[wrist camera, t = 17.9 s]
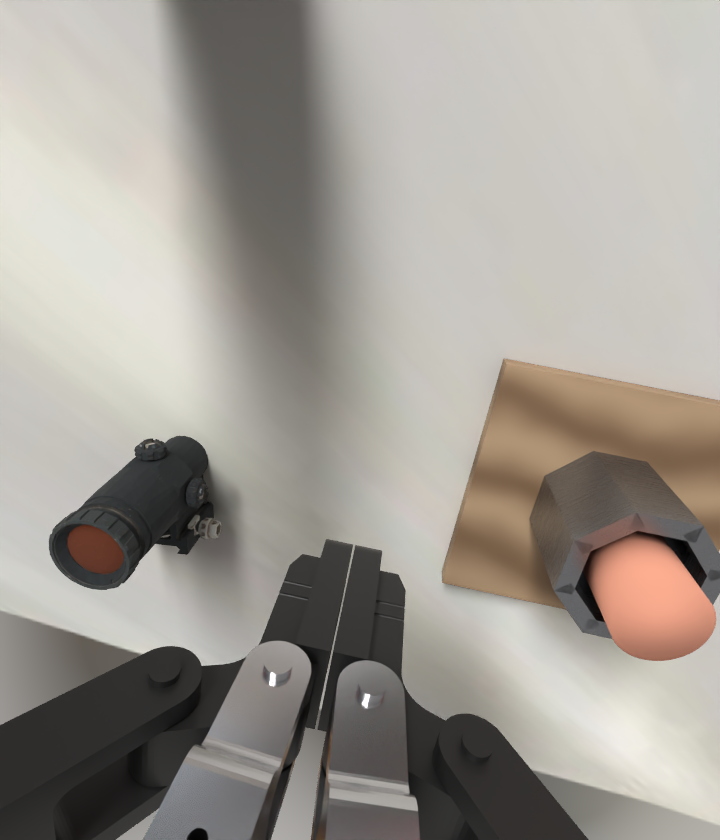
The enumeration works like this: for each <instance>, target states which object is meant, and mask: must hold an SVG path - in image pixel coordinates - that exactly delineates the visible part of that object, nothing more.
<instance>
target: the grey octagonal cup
mask: <svg viewBox="0 0 720 840" xmlns="http://www.w3.org/2000/svg"><path fill="white" fill-rule="evenodd" d="M529 519H530V522H531V525H532V528H533V531H534V534H535V537H536V540H537V543H538V546H539V549H540V552H541V555H542V558H543V561H544V564H545V567H546V569H547V572H548V575H549V578H550V581H551V584H552V587H553V590H554V592H555V593H556V595H557V596H558V598H559V599H560V600H561V602H562V603H563V605H564V606H565V608H566V609H567V611H568V612H569V614H570V615H571V616H572V618H573V619H574V621H575V622H576V624H577V625H578V627H579V628H580V629H581V631H582V632H583V633H588V634H593V635H597V636H602V637H606V638H611V639H613V638H612V636H611V634H610V632H609V629H608V627H607V625H606V623H605V620H604V618H603V616H602V613H601V611H600V609H599V607H598V604H597V602H596V600H595V598H594V595H593V593H592V591H591V588H590V586H589V584H588V582H587V579H586V577H585V575H584V572H583V568H584V566H585V564H586V561H587V559H588V556H589V554H590V552H591V551H593V550H595V549H597V548H600V547H602V546H604V545H606V544H609V543H611V542H613V541H615V540H618V539H620V538H622V537H624V536H627V535H629V534H631V533H633V532H636V531H641V532H646V533H651V534H656V535H661V536H663V537H664V539H665V540H666V542H667V543H668V544H669V546H670V547H671V548H672V550H673V551H674V553H675V554H676V555H677V557H678V558H679V559H680V561H681V562H682V564H683V565H684V566H685V568H686V569H687V570H688V572H689V573H690V574H691V576H692V577H693V579H694V580H695V581H696V583H697V584H698V585H699V587H700V588H701V590H702V591H703V592H704V594H705V595H706V596H707V598H708V599H709V601H710V602H711V603H712V605H713V604H714V602H715V600H716V599H717V597H718V595H719V593H720V554H719V552H718V550H717V548H716V547H715V545H714V543H713V541H712V539H711V538H710V536H709V534H708V532H707V531H706V529H705V527H704V525H703V524H702V523H701V522H700V521H699V520H698V519H697V518H696V516H695V515H694V514H693V513H692V512H691V511H690V510H689V508H688V507H687V506H686V505H685V504H684V503H683V502H682V501H681V499H680V498H679V497H678V496H677V495H676V494H675V493H674V492H673V490H672V489H671V488H670V487H669V486H668V485H667V484H666V483H665V481H664V480H663V479H662V478H661V477H660V476H659V475H658V473H657V472H656V471H655V470H654V469H653V468H652V467H651V466H650V464H649V463H648V462H646V461H641V460H636V459H631V458H626V457H622V456H617V455H612V454H607V453H602V452H597V451H592V452H590V453H588V454H586V455H584V456H582V457H580V458H578V459H576V460H574V461H572V462H570V463H568V464H567V465H565V466H563V467H561V468H559V469H557V470H555V471H553V472H551V473H549V474H547V475H545V476H544V479H543V481H542V484H541V487H540V490H539V493H538V495H537V498H536V501H535V504H534V507H533V509H532V512H531V515H530V518H529Z"/></svg>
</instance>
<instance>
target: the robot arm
mask: <svg viewBox="0 0 720 840" xmlns="http://www.w3.org/2000/svg"><path fill="white" fill-rule="evenodd" d="M352 547H353V545H352V544H347V543H343V542H338V541H333V540H329V539H326V542H325V545H324V548H323V552H322V555H321V558H318V557H313V556H309V555H304V554H302V555H301V556H300V557H299V558H298V559H296V560H295V561H294V562H293V563H292V564H291V565H290V566H289V569H288V571H287V574H286V577H285V579H284V583H283V585H282V587H281V590H280V593H279V595H278V598H277V600H276V603H275V606H274V608H273V611H272V613H271V616H270V619H269V621H268V624H267V626H266V629H265V632H264V634H263V637H262V640H261V642H260V644H259V645H258V646H257V647H255V648H254V649H253V650H252V651H251V652H250V653H249V654H248V655H247V657H245V658H244V659H242V660H239V661H237V662H234V663H230V664H224V665H211V666H201V663H200V661H199V659H198V658H197V656H196V655H195V654H194V653H192V652H191V651H189V650H187V649H185V648H181V647H175V646H166V647H160V648H157V649H153V650H151V651H149V652H147V653H145V654H143V655H141V656H139V657H137V658H135V659H133V660H131V661H129V662H127V663H125V664H123V665H121V666H119V667H116V668H115V669H112V670H110V671H109V672H106V673H105V674H102V675H100V676H98V677H96V678H95V679H92V680H90V681H88V682H86V683H85V684H82V685H80V686H78V687H77V688H74V689H72V690H71V691H68V692H66V693H65V694H62V695H60V696H58V697H56V698H54V699H52V700H50V701H48V702H47V703H44V704H42V705H40V706H38V707H36V708H34V709H32V710H30V711H28V712H26V713H24V714H22V715H20V716H18V717H16V718H14V719H12V720H10V721H8V722H6V723H4V724H2V725H0V840H116V839H117V838H118V837H120V836H121V835H122V834H124V833H125V832H127V831H128V830H129V829H131V828H132V827H134V826H135V825H136V824H138V823H139V822H140V821H142V820H143V819H144V818H146V817H147V816H149V815H150V814H151V813H153V812H154V811H156V810H157V809H158V808H159V809H158V811H157V813H156V815H155V817H154V819H153V821H152V823H151V824H150V826H149V828H148V830H147V832H146V834H145V836H144V838H143V840H271V837H272V834H273V831H274V828H275V825H276V821H277V818H278V815H279V812H280V809H281V806H282V802H283V799H284V796H285V793H286V790H287V786H288V783H289V780H290V777H291V774H292V771H293V767H294V764H295V759H296V757H297V755H298V753H299V751H300V748H301V744H302V740H303V736H304V731H305V727H307V728H312V729H315V725H316V720H317V715H318V711H319V706H320V701H321V697H322V692H323V687H324V682H325V678H326V673H327V668H328V664H329V659H330V654H331V650H332V645H333V640H334V635H335V631H336V626H337V621H338V617H339V612H340V607H341V602H342V597H343V593H344V588H345V583H346V578H347V572H348V567H349V562H350V557H351V552H352ZM381 556H382V551H381V550H376V549H371V548H367V547H362V546H357V545H355V550H354V554H353V559H352V564H351V569H350V574H349V578H348V583H347V588H346V593H345V598H344V602H343V607H342V612H341V617H340V622H339V627H338V631H337V636H336V641H335V646H334V651H333V656H332V660H331V665H330V670H329V675H328V680H327V685H326V690H325V695H324V700H323V705H322V710H321V715H320V720H319V726H318V730H322V731H326V737H325V742H324V747H323V753H322V758H321V762H320V767H319V773H318V782H317V790H316V799H315V808H314V816H313V825H312V834H311V840H588V839H587V837H586V836H585V835H584V834H583V832H582V831H581V830H580V829H579V828H578V826H577V825H576V824H575V823H574V822H573V820H572V819H571V818H570V817H569V815H568V814H567V813H566V812H565V811H564V809H563V808H562V807H561V806H560V804H559V803H558V802H557V801H556V800H555V798H554V797H553V796H552V795H551V794H550V792H549V791H548V790H547V789H546V787H545V786H544V785H543V784H542V782H541V781H540V780H539V779H538V778H537V776H536V775H535V774H534V773H533V771H532V770H531V769H530V768H529V767H528V765H527V764H526V763H525V762H524V760H523V759H522V758H521V757H520V756H519V754H518V753H517V752H516V751H515V749H514V748H513V747H512V746H511V745H510V743H509V742H508V741H507V740H506V738H505V737H504V736H503V735H502V734H501V732H500V731H499V730H498V729H497V728H496V727H495V726H493V725H492V724H491V723H490V722H488V721H487V720H485V719H483V718H481V717H478V716H475V715H472V714H457V715H454V716H451V717H450V718H448V719H447V720H446V721H445V720H443V719H441V718H439V717H438V716H436V715H434V714H432V713H430V712H429V711H427V710H425V709H424V708H422V707H421V706H420V705H419V704H417V703H416V702H415V701H414V700H413V699H412V697H411V696H410V695H409V693H408V692H407V690H406V688H405V686H404V684H403V680H402V675H401V668H402V648H403V629H404V607H405V588H404V586H403V584H402V582H401V580H400V577H399V575H398V574H393V573H388V572H384V571H380V564H381Z"/></svg>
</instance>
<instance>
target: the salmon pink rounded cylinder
mask: <svg viewBox="0 0 720 840" xmlns="http://www.w3.org/2000/svg"><path fill="white" fill-rule="evenodd" d="M583 572H584V575H585V577H586V579H587V582H588V584H589V586H590V588H591V591H592V593H593V595H594V598H595V600H596V602H597V604H598V607H599V609H600V611H601V613H602V616H603V618H604V620H605V623H606V625H607V627H608V629H609V632H610V634H611V636H612V638H613V640H614V642H615V643H616V644H617V646H618V647H619V648H621V649H622V650H623V651H624V652H626V653H628V654H630V655H632V656H634V657H637V658H640V659H644V660H652V661H664V660H671V659H676V658H679V657H683V656H685V655H687V654H690V653H692V652H693V651H695V650H697V649H698V648H700V647H701V646H702V645H703V644H704V643H705V642H706V641H707V640H708V639H709V637H710V636H711V635H712V633H713V630H714V628H715V625H716V613H715V609H714V607H713V605H712V603H711V602H710V601H709V599H708V598H707V596H706V595H705V594H704V592H703V591H702V590H701V588H700V587H699V585H698V584H697V583H696V581H695V580H694V579H693V577H692V576H691V574H690V573H689V572H688V570H687V569H686V568H685V566H684V565H683V564H682V562H681V561H680V559H679V558H678V557H677V555H676V554H675V553H674V551H673V550H672V548H671V547H670V546H669V544H668V543H667V542H666V540H665V539H664V537H663V536H661V535H656V534H651V533H646V532H641V531H636V532H633V533H631V534H629V535H627V536H624V537H622V538H620V539H618V540H615V541H613V542H611V543H609V544H606V545H604V546H602V547H600V548H597V549H595V550H593V551H591V552H590V554H589V556H588V559H587V561H586V564H585V566H584V568H583Z"/></svg>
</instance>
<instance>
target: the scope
mask: <svg viewBox="0 0 720 840" xmlns="http://www.w3.org/2000/svg"><path fill="white" fill-rule="evenodd" d="M135 452H136V453H135V456H136V457H135V458H134V459H133V460H132V461H130V462H129V463H128V464H127V465H126V466H125V467H124V468H123V469H122V470H121V471H119V472H118V473H117V474H116V475H115V476H114V477H112V478H111V479H110V480H109V481H108V482H107V483H106V484H104V485H103V486H102V487H101V488H100V489H99V490H97V491H96V492H95V493H94V494H93V495H92V496H91V497H90V498H89V499H88V500H87V501H86V502H85V503H84V504H83V505H82V507H80V508H79V509H78V510H77V511H75V512H73V513H71V514H70V515H68V516H67V517H65V518H64V519H63V520H62V521H61V522H60V523H58V524H57V525H56V526H55V527H54V529H53V532H52V534H51V535H50V538H49V550H50V555H51V557H52V559H53V561H54V563H55V565H56V566H57V568H58V569H59V570H60V571H61V572H62V573H63V574H64V575H65V576H66V577H68V578H69V579H70V580H72V581H74V582H76V583H77V584H80V585H82V586H84V587H87V588H91V589H98V590H107V589H110V588H116V587H119V585H120V584H121V583H124V582H125V581H126V580H127V579H128V578H129V577H130V576H131V574H132V573H133V572H134V571H135V568H136V567H137V565H138V563H139V561H140V560H141V559H142V558H143V557H144V555H145V554H146V553H147V552H148V551H149V550H150V549H151V548H152V547H153V546H154V544H162V545H171V546H177V547H178V548H179V549H180V550H179V552H178V553H177V554H186V555H187V554H188V553H189V552H190V550H191V549H192V547H193V546H194V544H195V543H196V541H197V540H198V539H199V537H200V536H201V537H202V538H203V539H210V538H216V539H217V538H218V537H219V535H220V532H221V528H222V527H221V522H220V521H217V520H213V519H212V518H213V504H212V503H209V502H208V503H207V504H206V505H203V502H205V500H206V499H207V497H208V491H206V489H208V487H207V486H206V484H205V482H204V480H203V473H204V471H205V470H206V468H207V463H208V458H207V454H206V452H205V449H204V448H203V447H202V445H201V444H199V443H198V442H197V441H196V440H194V439H192V438H189V437H186V436H176V437H174V438H171V439H169V440H168V441H167V442H166V443H164V442H162V441H159V440H157V439H156V441H155V440H153V439H146V440H144V441H143V442H142V443H140V444H139V445H138V446H136V447H135ZM163 535H171V536H169V537H165V538H161V537H162V536H163Z"/></svg>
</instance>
